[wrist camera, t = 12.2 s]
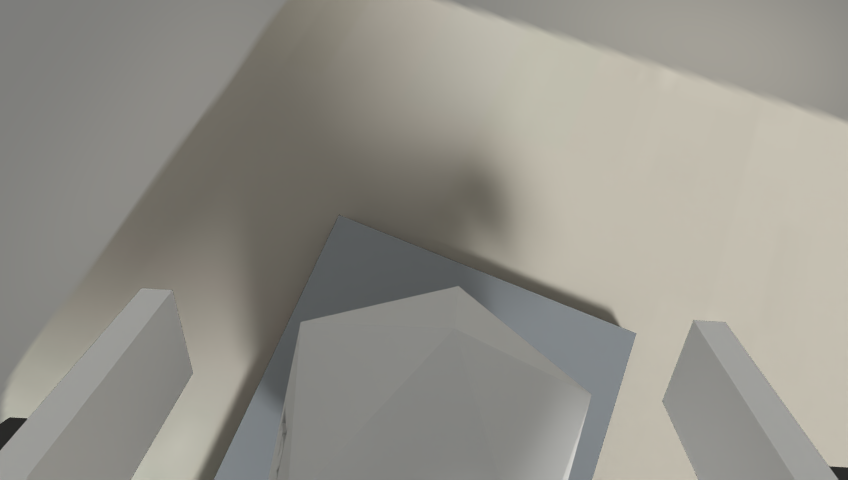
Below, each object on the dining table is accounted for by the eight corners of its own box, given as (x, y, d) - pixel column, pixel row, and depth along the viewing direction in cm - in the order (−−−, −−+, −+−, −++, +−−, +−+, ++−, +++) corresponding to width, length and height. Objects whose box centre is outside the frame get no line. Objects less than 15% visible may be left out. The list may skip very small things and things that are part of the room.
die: (431, 261, 21) (206, 259, 13) (660, 339, 16) (522, 414, 8) (387, 453, 21) (151, 561, 14) (589, 584, 17) (401, 872, 9)
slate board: (625, 335, 20) (636, 333, 19) (521, 675, 17) (527, 692, 16) (342, 222, 21) (339, 214, 20) (201, 523, 18) (189, 531, 17)
